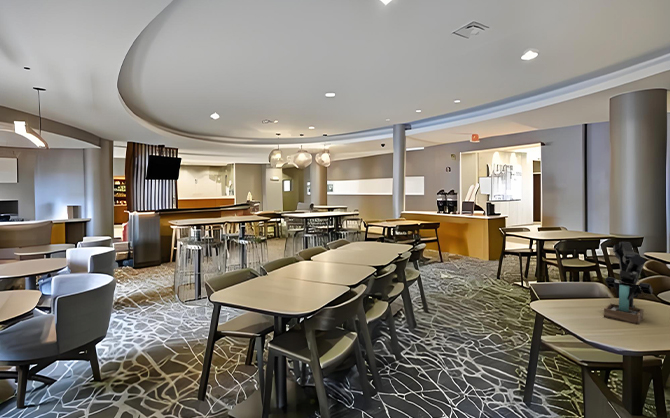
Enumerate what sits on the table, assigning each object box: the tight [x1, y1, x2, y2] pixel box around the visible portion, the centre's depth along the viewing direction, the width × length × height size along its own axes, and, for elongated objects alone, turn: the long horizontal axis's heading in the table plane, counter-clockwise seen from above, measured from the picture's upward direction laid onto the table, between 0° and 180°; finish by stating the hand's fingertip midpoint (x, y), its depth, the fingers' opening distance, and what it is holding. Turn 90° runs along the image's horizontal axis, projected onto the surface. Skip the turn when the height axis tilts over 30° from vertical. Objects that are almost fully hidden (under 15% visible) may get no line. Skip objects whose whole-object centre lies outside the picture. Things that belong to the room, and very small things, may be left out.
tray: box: [603, 302, 644, 325], centre depth 180 cm, size 14×14×4 cm
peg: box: [618, 285, 629, 312], centre depth 180 cm, size 4×4×13 cm
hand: (622, 298), depth 179 cm, fingers closed on peg, 4 cm apart
